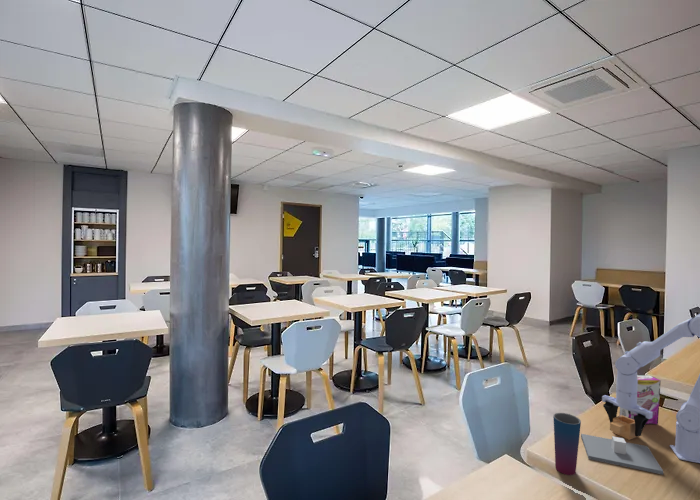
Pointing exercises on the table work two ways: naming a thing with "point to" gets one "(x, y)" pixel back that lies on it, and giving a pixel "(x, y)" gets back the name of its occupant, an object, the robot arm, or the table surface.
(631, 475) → the table surface
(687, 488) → the table surface
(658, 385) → the candy bar box
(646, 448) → the duct board
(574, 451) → the cup
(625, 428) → the tan square tube
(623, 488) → the table surface
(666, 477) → the table surface
